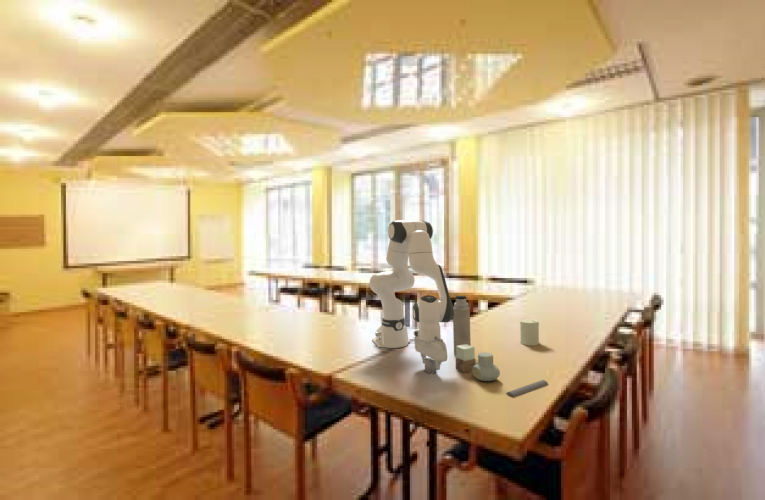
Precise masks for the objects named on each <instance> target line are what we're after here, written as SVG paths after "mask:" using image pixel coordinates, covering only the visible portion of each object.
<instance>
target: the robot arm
mask: <svg viewBox="0 0 765 500" xmlns="http://www.w3.org/2000/svg"><path fill="white" fill-rule="evenodd" d="M433 232H434V230H433V226H432V224H431V223H430V222H428V221H425V220H416V219H415V220H414V219H410V220H408V219H407V220H393V221H391V222H390V224H389V225H388V228H387V233H388V239H389V243H388V248H387V252H386V258H385V259H386V262H387V264H388V265H389V266H391V267H392V269H391V271H383V272H382V271H381V272H378V273H375V274H372V275H371V277H370V279H369V287H370V290H371V291H372V292H373V293H375V294H376V295H377V297H378V298H379V300H380V302H381V307H382V317H381V325H380V326H379V327H378V328H377V329H376V332H375V337H372V342H373V343H374V344H375V345H376V346H377V347H378V348H388V349H391V348H392V349H397V348H403V347H406V346H408V345H409V343H411V339H409V333H408V328H407V326H406V325H405V324H406V318H405V310H404V309H405V305H404V302H402V300H401V299H399V298H397V297H396V295H395V294H396V292H404V291H407V290H410V289H412V288H413V287H414V285H415V281H416V280H415V276H414V274H413V272H412V271H410V269H409V267H410V268H411V269H412V270H413V271H414V272H416V273H417V274H420V275H422V276H425V277H428V278H430V279H431V280H433V281H434V283H435V286H436V288H437V292H438V297H439V299H438V297H436V296H433V295H424V296H421V297H420V298H419V301H416V302H415V303H414V304H413V305H412V319H413V320H414V321H415V322H417V323H419V329H418V330H414V331H413V335H414V337H413V338H414V349H415V351H416V352H418V353H420V357H421V360H422V361H421V363H422V364H424V365H425V359H426V358H432V359H434V360H436V365H435V370H436V371H440V370H441V365H442V363H444V362H447V360H448V349H447V345H446V342H445V341H444V339H443V338H442V337H441V324H440V323H449V322H450V321H451V320H453V317H454V308H453V307H454V304H453V302H452V299H451V296H450V293H449V289H448V284H447V281H446V277H445V274H444V271H443V268H442V267H441V265H440V264H439V263H437V262H436V259H435V258H434V254H433V245H432V241H431V239H432V237H433ZM408 262H409V263H408ZM408 264H409V265H408Z"/></svg>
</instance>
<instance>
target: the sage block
mask: <svg viewBox="0 0 765 500" xmlns="http://www.w3.org/2000/svg"><path fill="white" fill-rule="evenodd" d="M475 351H476V350H475V346H473V345H471V346H470V345H468V344H464V345H459V346H456V355H455V356H456V357H457V358H459V359H461V360H463V361H466V360H471V359H476V358H475V357H476V355H475V354H476V353H475ZM456 357H455V358H456Z"/></svg>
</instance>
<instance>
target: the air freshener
mask: <svg viewBox="0 0 765 500" xmlns="http://www.w3.org/2000/svg"><path fill="white" fill-rule="evenodd" d="M471 372H472V375H473V376H474V377H475V378H476V379H477V380H479V381H480V380H481V381H480V382H493V381H495V380H497V379H498V378H499V377H500V375H501V371H500V369H499V367H498V366H497V365H496V364H494V354H492V353H490V352H486V351H485V352H480V353H478V355H477V363H476V365H475V366H474V367H473V368H472V371H471Z"/></svg>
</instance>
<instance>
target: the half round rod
mask: <svg viewBox="0 0 765 500" xmlns="http://www.w3.org/2000/svg"><path fill="white" fill-rule="evenodd" d="M547 386H549V383H548V381H546V380H545V379H542V380H541V379H540V380H538V381H536V382H533V383H530V384H527V385H524V386H521V387H519V388H516V389H513V390H510V391H507V392H506V395H508V396H510V397H513V398H517V397H519V396H522V395H526V394H528V393H531V392H534V391H536V390H538V389H541V388H545V387H547Z"/></svg>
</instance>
